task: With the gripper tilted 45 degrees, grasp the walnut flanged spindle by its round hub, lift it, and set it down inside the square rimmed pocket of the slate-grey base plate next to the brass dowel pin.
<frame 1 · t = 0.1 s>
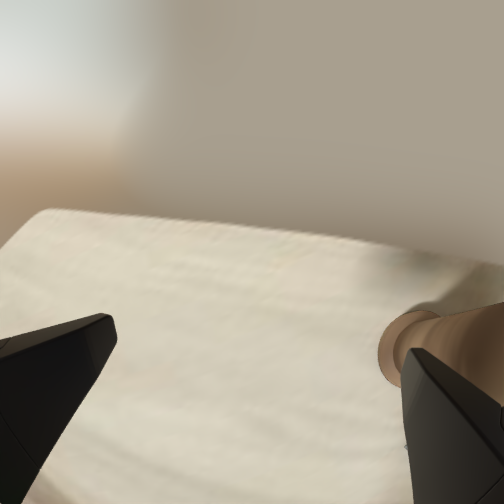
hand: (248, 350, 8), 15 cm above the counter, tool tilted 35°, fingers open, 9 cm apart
flanged spindle: (413, 350, 20), on the counter
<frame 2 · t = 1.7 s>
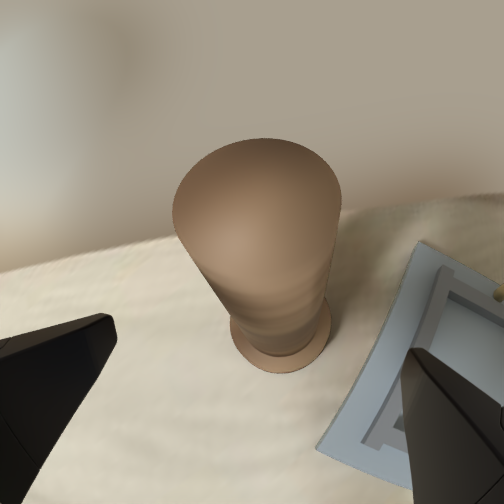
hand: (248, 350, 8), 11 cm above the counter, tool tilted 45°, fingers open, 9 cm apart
flanged spindle: (281, 326, 19), on the counter
base plate: (465, 386, 15), on the counter
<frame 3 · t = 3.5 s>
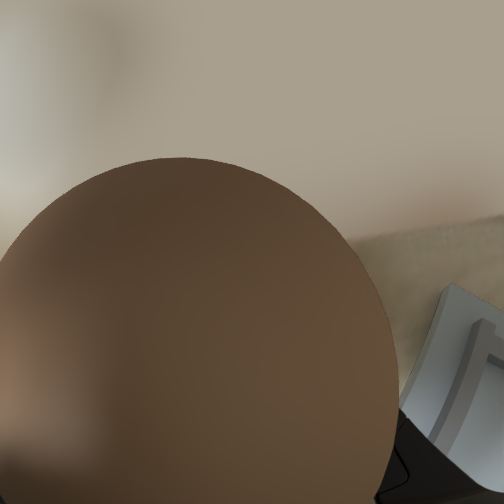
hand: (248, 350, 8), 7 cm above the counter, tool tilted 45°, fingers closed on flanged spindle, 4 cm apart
flanged spindle: (265, 400, 13), on the counter, touching gripper
base plate: (490, 460, 9), on the counter
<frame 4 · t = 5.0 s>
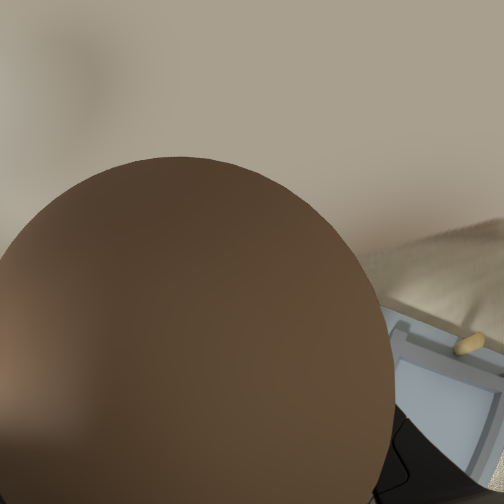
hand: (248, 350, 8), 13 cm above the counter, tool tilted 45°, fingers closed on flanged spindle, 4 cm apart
flanged spindle: (264, 400, 13), point 6 cm above the counter, touching gripper
base plate: (419, 438, 16), on the counter
when the fingers open (10 cm above the counter, at t = 6.8 s): flanged spindle drops 2 cm, resting on base plate.
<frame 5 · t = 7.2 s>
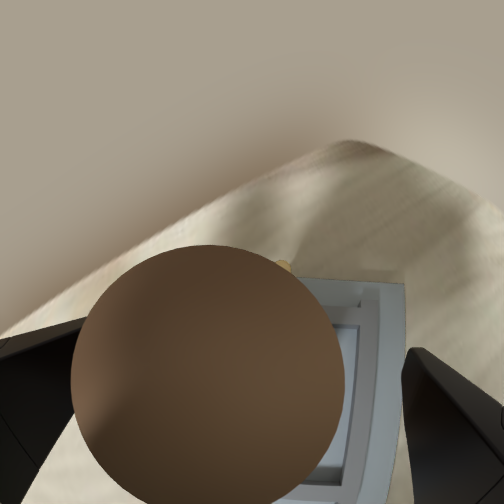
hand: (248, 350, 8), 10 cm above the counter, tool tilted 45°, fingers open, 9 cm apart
flanged spindle: (268, 401, 15), point 1 cm above the counter, touching base plate
base plate: (270, 400, 16), on the counter
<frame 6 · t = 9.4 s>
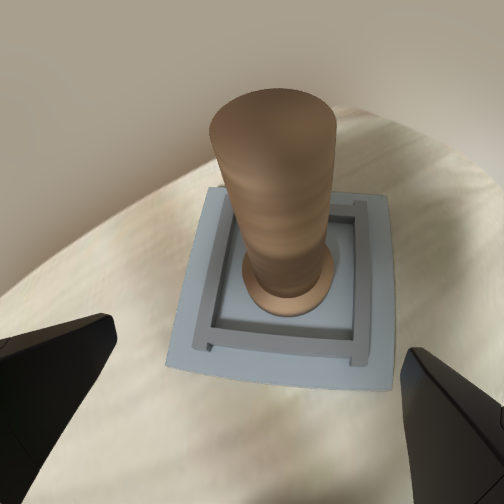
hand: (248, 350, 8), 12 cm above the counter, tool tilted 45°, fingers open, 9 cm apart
flanged spindle: (288, 275, 21), point 1 cm above the counter, touching base plate
base plate: (289, 281, 22), on the counter
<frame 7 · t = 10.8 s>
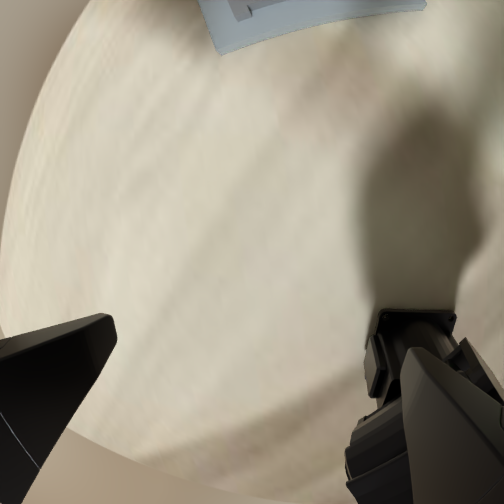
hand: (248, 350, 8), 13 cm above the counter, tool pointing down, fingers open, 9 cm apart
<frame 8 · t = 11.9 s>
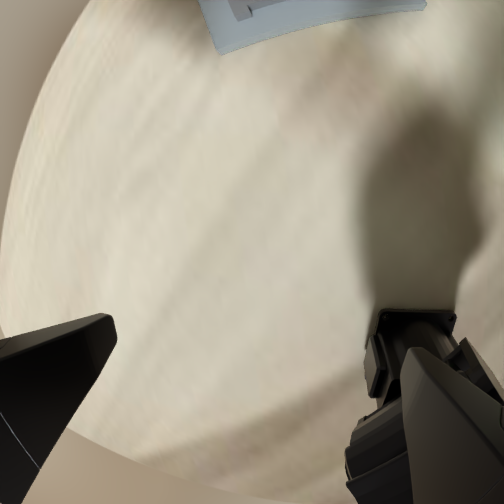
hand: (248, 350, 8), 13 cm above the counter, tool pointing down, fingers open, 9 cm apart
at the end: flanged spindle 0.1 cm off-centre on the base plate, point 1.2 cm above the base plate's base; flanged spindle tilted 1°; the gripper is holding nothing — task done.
